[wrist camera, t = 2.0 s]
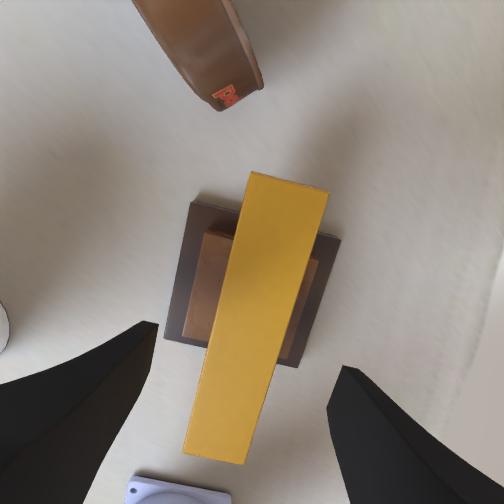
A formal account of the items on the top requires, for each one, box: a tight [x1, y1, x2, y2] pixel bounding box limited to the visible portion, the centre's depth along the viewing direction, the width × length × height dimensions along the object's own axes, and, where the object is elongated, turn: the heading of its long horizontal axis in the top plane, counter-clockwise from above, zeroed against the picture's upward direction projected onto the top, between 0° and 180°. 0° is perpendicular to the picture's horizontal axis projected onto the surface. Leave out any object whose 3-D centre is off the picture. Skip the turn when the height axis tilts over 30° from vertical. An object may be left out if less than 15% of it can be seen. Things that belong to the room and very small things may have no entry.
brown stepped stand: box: [164, 201, 341, 368], centre depth 18 cm, size 9×9×3 cm
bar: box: [182, 171, 329, 465], centre depth 15 cm, size 14×3×3 cm, turn 166°
